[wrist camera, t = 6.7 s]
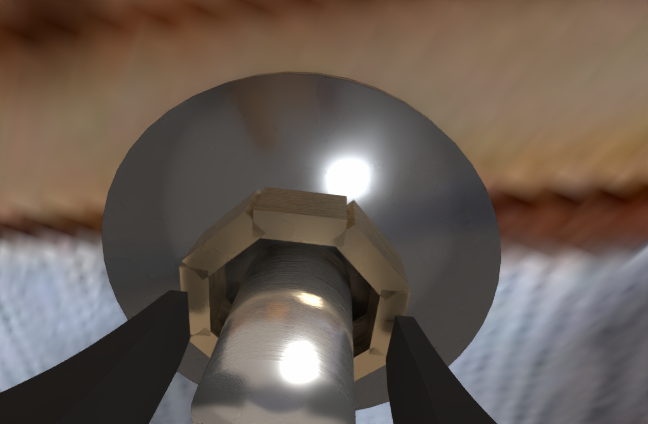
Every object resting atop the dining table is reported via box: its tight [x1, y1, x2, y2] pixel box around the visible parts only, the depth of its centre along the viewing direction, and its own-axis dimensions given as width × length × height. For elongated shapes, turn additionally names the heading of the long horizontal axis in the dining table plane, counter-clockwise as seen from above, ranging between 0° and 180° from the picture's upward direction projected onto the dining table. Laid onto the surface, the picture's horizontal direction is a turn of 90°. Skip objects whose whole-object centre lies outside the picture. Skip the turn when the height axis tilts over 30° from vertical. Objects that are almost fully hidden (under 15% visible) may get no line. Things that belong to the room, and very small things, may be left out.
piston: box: [191, 241, 356, 424], centre depth 13 cm, size 4×4×6 cm
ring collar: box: [102, 72, 501, 411], centre depth 15 cm, size 16×16×3 cm
